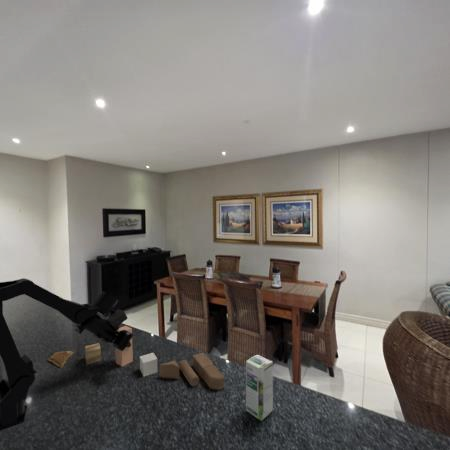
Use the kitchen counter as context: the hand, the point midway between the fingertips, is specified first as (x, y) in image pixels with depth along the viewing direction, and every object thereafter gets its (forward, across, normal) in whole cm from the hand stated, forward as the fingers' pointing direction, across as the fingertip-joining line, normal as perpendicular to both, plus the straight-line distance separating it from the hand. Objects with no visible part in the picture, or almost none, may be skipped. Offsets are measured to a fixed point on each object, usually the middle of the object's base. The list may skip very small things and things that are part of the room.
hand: (127, 343), depth 98 cm
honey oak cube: (-1, +12, +10) cm, 16 cm away
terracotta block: (+4, 0, +6) cm, 7 cm away
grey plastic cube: (+5, -13, +4) cm, 14 cm away
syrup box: (+10, -55, 0) cm, 56 cm away
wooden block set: (+9, -30, +1) cm, 31 cm away
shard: (-5, +22, +15) cm, 27 cm away
